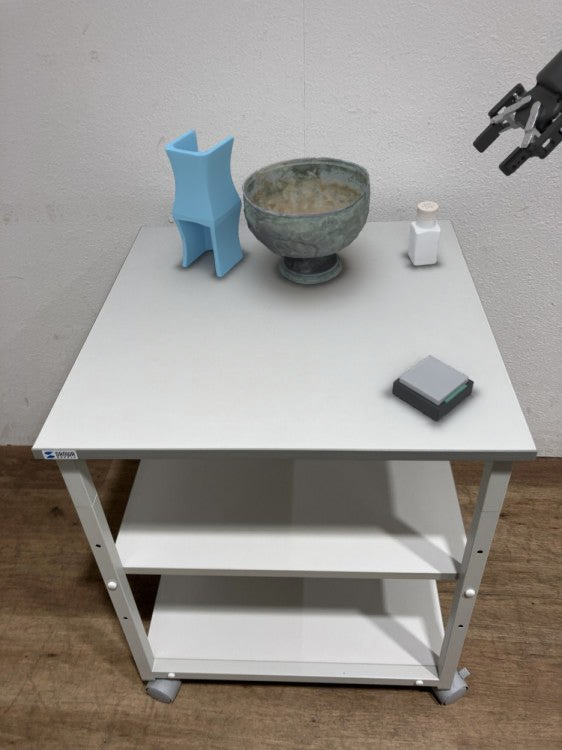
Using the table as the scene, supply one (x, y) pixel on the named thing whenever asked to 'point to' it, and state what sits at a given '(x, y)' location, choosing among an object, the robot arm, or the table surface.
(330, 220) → the bowl
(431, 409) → the kitchen scale
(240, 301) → the table surface
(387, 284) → the table surface
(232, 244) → the blue curved channel stand
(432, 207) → the salt shaker
